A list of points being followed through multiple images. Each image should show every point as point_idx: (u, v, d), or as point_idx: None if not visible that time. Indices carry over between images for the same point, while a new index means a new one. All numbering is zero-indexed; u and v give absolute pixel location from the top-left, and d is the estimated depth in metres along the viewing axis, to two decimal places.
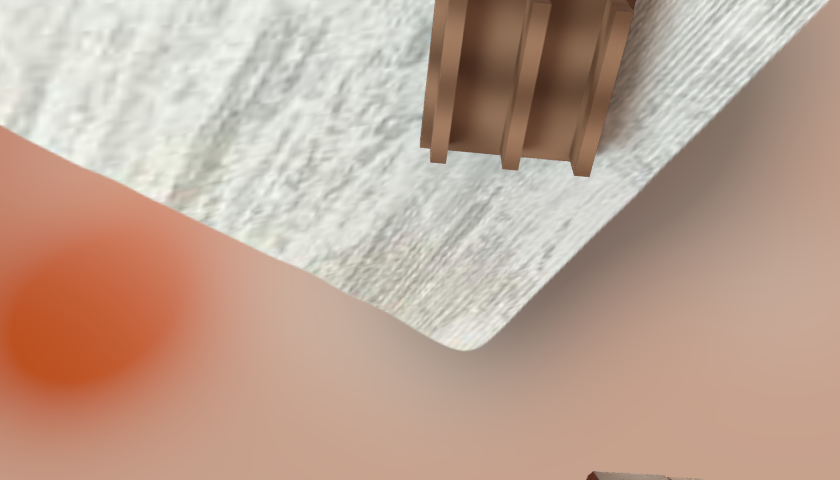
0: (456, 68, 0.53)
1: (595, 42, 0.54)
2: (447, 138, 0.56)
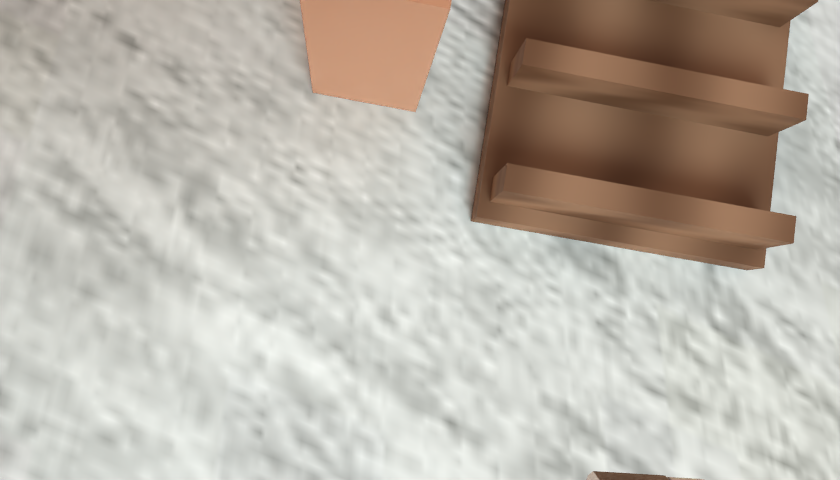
0: (624, 188, 0.32)
1: None
2: (748, 210, 0.32)
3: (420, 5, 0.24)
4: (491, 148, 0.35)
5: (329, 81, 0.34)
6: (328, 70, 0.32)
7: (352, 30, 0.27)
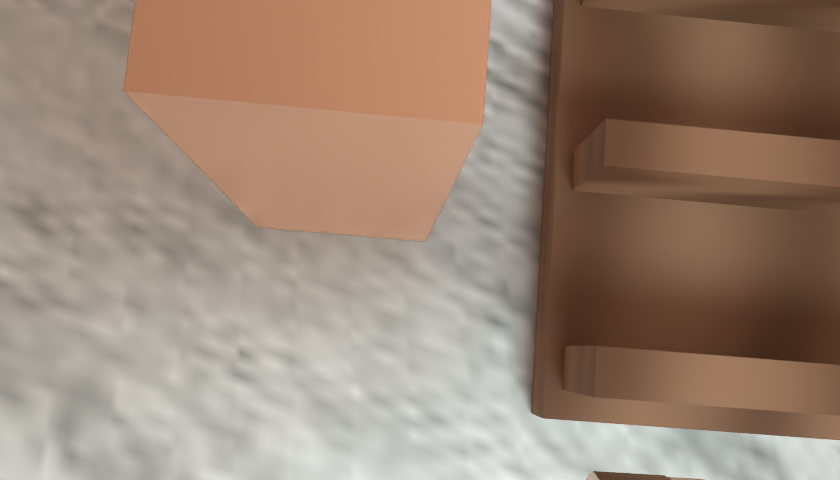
0: (808, 368, 0.18)
1: (693, 20, 0.22)
2: None
3: (415, 122, 0.11)
4: (556, 298, 0.21)
5: (276, 217, 0.20)
6: (268, 207, 0.19)
7: (285, 161, 0.14)
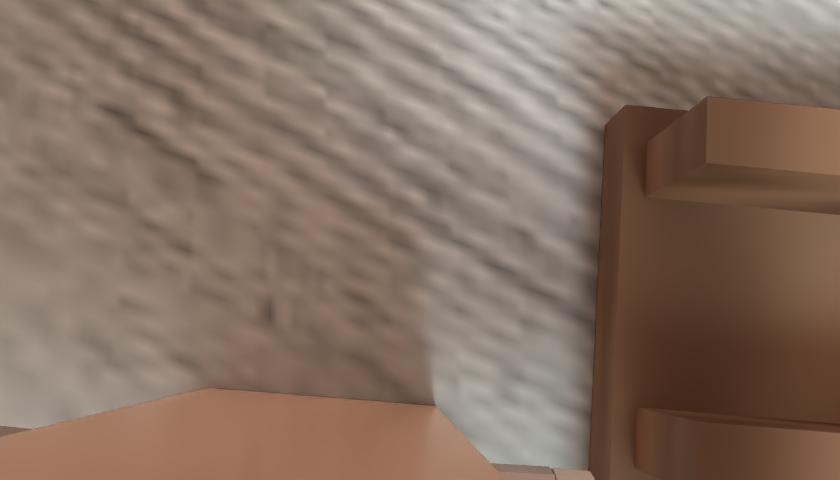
0: None
1: (801, 215, 0.16)
2: None
3: None
4: None
5: None
6: None
7: None
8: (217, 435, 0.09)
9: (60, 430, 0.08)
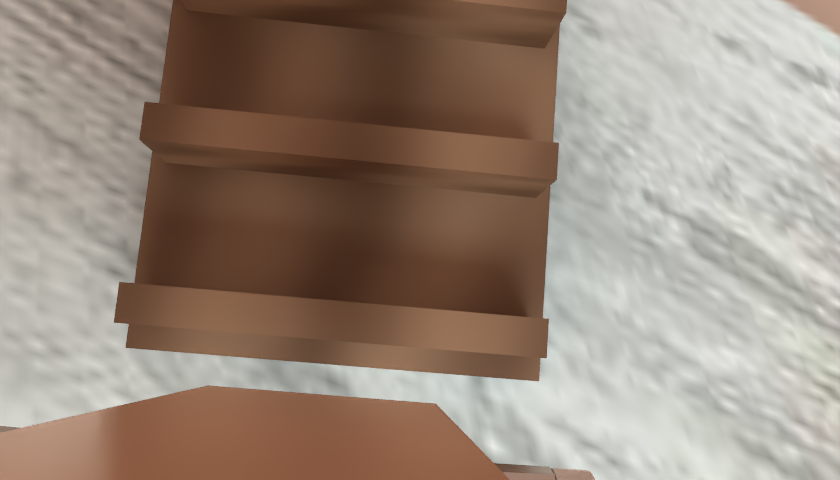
0: (293, 301, 0.22)
1: (282, 23, 0.27)
2: (477, 317, 0.23)
3: None
4: (144, 250, 0.25)
5: None
6: None
7: None
8: (216, 432, 0.09)
9: (58, 427, 0.08)
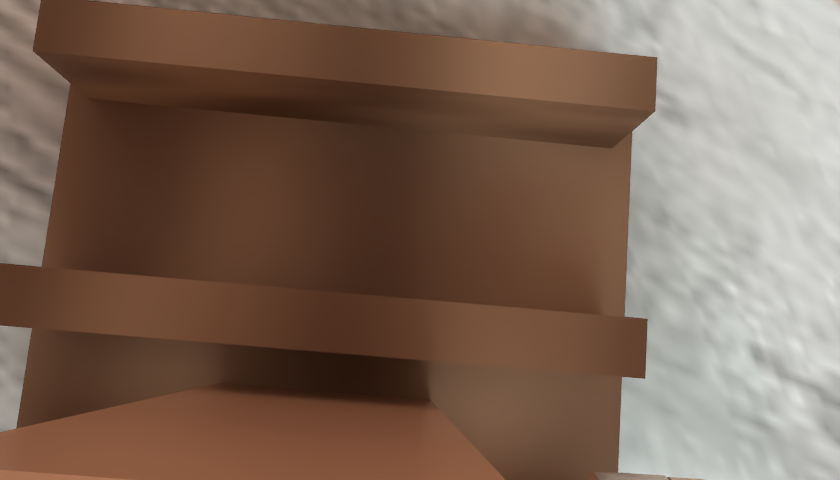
0: None
1: (229, 115, 0.18)
2: None
3: None
4: None
5: None
6: None
7: None
8: (233, 422, 0.10)
9: (96, 417, 0.09)
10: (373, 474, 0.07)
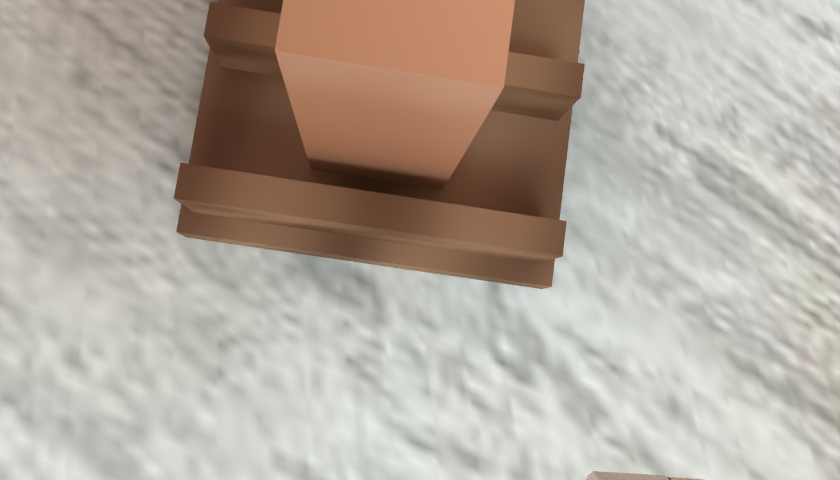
0: (336, 190, 0.25)
1: None
2: (502, 215, 0.25)
3: (460, 83, 0.16)
4: (197, 145, 0.28)
5: (330, 160, 0.26)
6: (329, 149, 0.24)
7: (360, 109, 0.19)
8: None
9: None
10: None
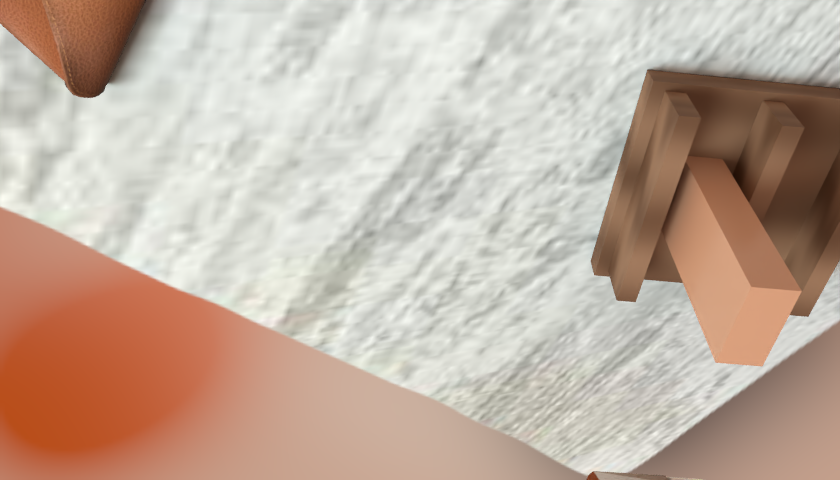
0: (669, 199, 0.42)
1: (832, 161, 0.44)
2: (642, 275, 0.46)
3: (720, 346, 0.37)
4: (710, 89, 0.42)
5: (688, 186, 0.43)
6: (695, 201, 0.42)
7: (716, 271, 0.38)
8: None
9: None
10: None
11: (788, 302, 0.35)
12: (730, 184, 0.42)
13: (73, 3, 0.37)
